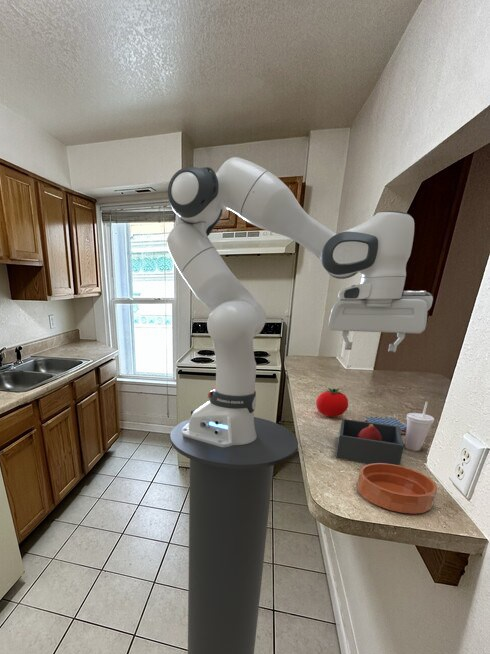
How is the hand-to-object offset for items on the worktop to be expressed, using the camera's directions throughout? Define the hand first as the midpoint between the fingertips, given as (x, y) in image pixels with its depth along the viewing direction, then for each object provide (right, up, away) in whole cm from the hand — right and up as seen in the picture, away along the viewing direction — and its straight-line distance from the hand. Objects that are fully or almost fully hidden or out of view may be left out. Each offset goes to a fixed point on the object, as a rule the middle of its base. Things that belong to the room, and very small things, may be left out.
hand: (369, 350), depth 87 cm
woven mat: (+22, -20, +29) cm, 42 cm away
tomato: (+9, -16, +41) cm, 45 cm away
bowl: (+1, -34, -8) cm, 35 cm away
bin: (+6, -26, +12) cm, 30 cm away
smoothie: (+21, -25, +15) cm, 36 cm away
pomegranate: (+6, -26, +12) cm, 29 cm away
